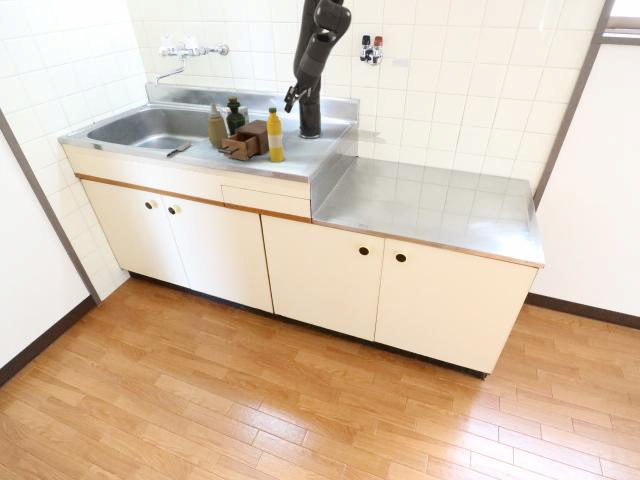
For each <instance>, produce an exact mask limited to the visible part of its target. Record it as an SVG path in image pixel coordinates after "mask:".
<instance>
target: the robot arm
mask: <svg viewBox="0 0 640 480" xmlns="http://www.w3.org/2000/svg"><path fill="white" fill-rule="evenodd" d="M344 3H345V0H304V2H303V6H302V7H303V8H302V15H301V23H300V30H299V34H298V41H297V46H296V48H295V53H294V58H293V61H292V72H293V76H294V77H295V79H296V81H297V82H296V83H295V84H294V85H293V86H292V85H290V86H289V87H288V90H287V92H286V94H285V97H284V99H283V102H284V103H285V106H284V108H283V109H284V111H285V112H286V113H287V114H290V113H291V112H292V108H293V107H294V104H295V103H296V102H298V112H299V113H298V115H299V136H300V137H301V138H303V139H317V138H319V137H321V136H322V112H321V89H322V74H323V72H324V69H325V68H326V64H327V61H328V59H329V57H330V55H331V52H332V50H333V49H334V48H335V46H336V45H337V44H338V42H339V41H340V40H341V39H342V38H343V37H344V35H346V34H347V32H348V31H349V29H350V27H351V25H352V20H353V16H352V12H351V10H350V9H349V8H348V7H346V6H344ZM325 30H326V31H327V32H324V31H325ZM296 95H297V96H296Z"/></svg>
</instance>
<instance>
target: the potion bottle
mask: <svg viewBox="0 0 640 480" xmlns="http://www.w3.org/2000/svg"><path fill="white" fill-rule="evenodd" d="M227 99H228V102H227V104H226V108H230V110H231V113H230V114H229V115H228V116H227V118H226V121H227V125H228V129H229V133H230V134H229V137H230V136H233V135H235V129H237V128H239V127H241V126H244V125H245V116H244V115H243V114H241V113H239V112H238V109H239V107H240V106H241V105H242V104H241V102H239V101H238V97H237V96H229V97H227Z"/></svg>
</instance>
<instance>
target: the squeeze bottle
mask: <svg viewBox="0 0 640 480" xmlns="http://www.w3.org/2000/svg"><path fill="white" fill-rule="evenodd" d="M206 120H207V130H208V140H209V142H210V144H211V146H212V147H213V148H214V149H219V148H220V149H222V148H223V146H222V140H221V139H223V138H225V139H227V138H228V137H229V134H228V133H227V130H226V126H225V122H224V118H223V117H222V113H221V110H218V109H217V106H216V104H215V102H210V110H209V111H208V118H207V119H206Z"/></svg>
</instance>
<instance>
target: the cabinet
mask: <svg viewBox="0 0 640 480" xmlns="http://www.w3.org/2000/svg"><path fill="white" fill-rule="evenodd" d="M267 121H268V120H262V119H255V120H252V121H251V122H250V121H249V123H248V124H246V125H244V126H241V127H239V128H237V129H235V134H237V133H245V134H250V135H256V136H258V143H259V152H257V153H255V154H254V155H256V156H263V155H265V154H267V153H268V152H270V151H269V142H268V131H267Z"/></svg>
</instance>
